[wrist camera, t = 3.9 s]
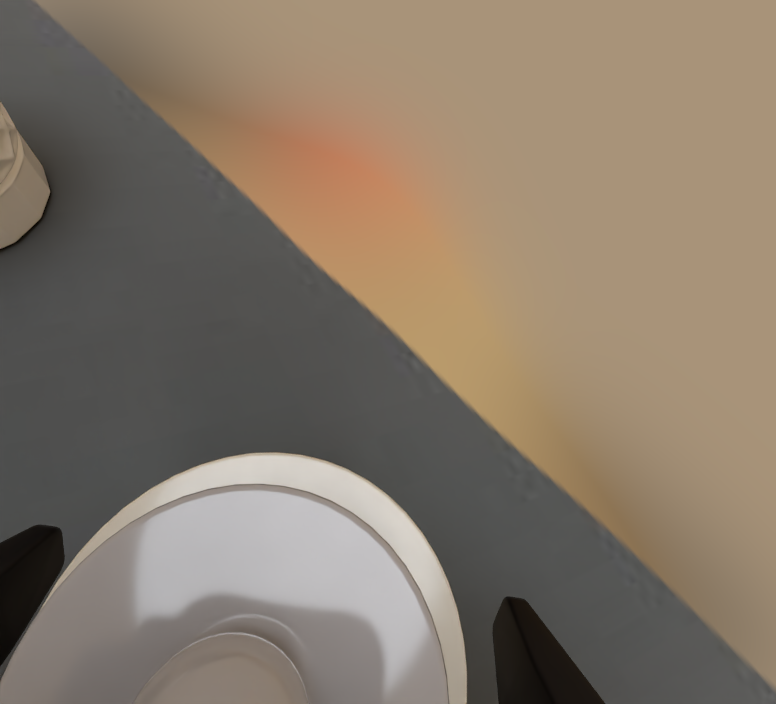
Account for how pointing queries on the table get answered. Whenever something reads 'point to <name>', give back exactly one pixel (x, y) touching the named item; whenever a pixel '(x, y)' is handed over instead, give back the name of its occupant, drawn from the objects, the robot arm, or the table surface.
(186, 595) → the pepper mill
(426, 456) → the table surface
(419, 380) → the table surface
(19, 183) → the white cup
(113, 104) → the table surface
